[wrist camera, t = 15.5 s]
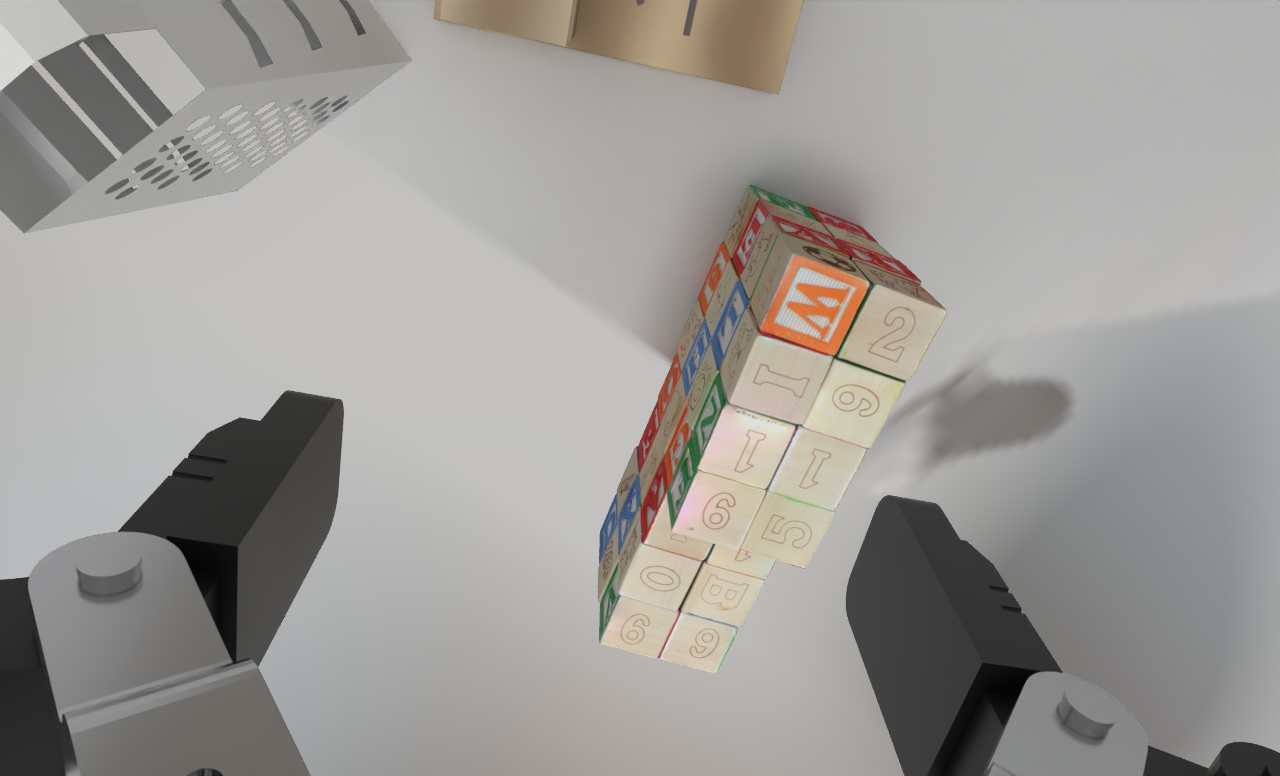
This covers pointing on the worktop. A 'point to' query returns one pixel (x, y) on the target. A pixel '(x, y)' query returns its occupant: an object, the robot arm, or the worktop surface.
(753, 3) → the board
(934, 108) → the worktop surface
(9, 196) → the grater
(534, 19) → the block
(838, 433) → the stack of blocks
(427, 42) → the worktop surface
